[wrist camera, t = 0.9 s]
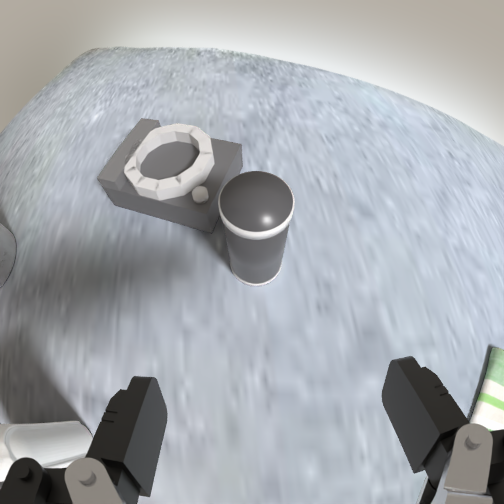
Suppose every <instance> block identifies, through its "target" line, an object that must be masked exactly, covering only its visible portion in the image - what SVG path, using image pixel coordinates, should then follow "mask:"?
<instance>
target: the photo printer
mask: <svg viewBox="0 0 504 504" xmlns="http://www.w3.org/2000/svg"><path fill="white" fill-rule="evenodd" d="M92 440H93V437H92V435H91V433H90V432H89V430H88V429H87V428H86V427H85V426H84V425H82V424H81V423H80V421H64V422H51V423H34V424H0V482H2V481H4V480H5V478H6V476H7V473H8V471H9V469H10V467H11V465H12V464H13V463H14V462H15V461H16V460H18V459H20V458H23V457H29V458H32V459H35V460H36V461H37V462H38V463H39V464H40V465H41V466H42V467H43V468H63V467H67V466H69V465H70V464H71V463H72V462H73V461H75V460H77V459H80V458H84V457H85V456H86V454H87V452H88V450H89V447H90V445H91V442H92Z"/></svg>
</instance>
